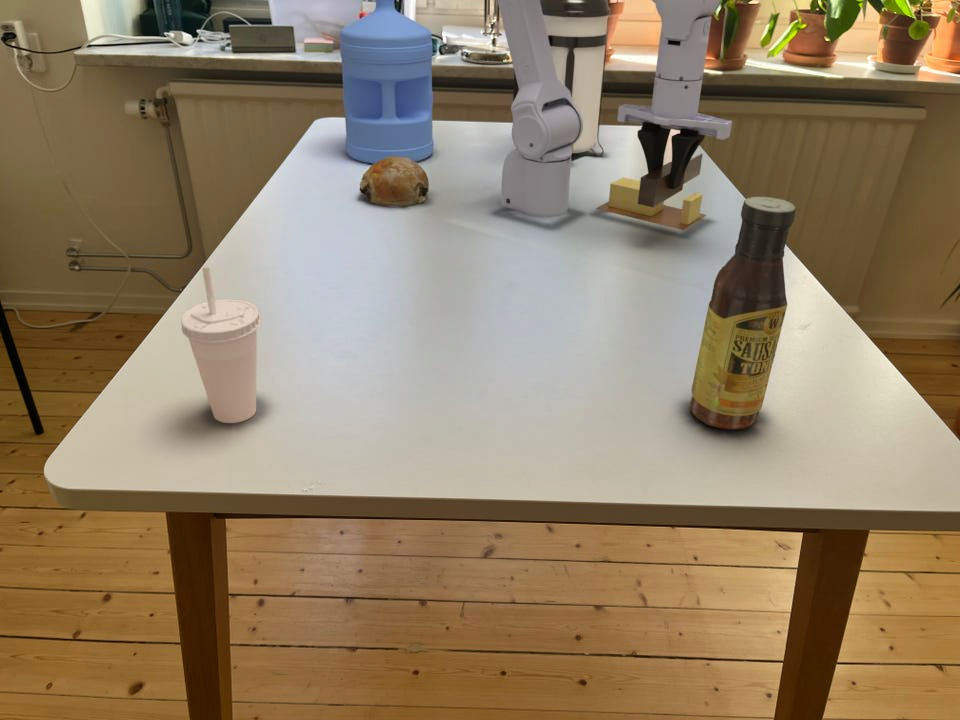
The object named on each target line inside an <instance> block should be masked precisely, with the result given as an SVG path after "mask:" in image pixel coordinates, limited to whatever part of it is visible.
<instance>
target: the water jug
mask: <svg viewBox="0 0 960 720" xmlns="http://www.w3.org/2000/svg"><path fill="white" fill-rule="evenodd" d="M432 37H433V36H432V31H431V30H430V28H428V27H426V26H424V25H422V24H420V23H419V22H417V21H416V20H414V19H411V18H410V17H408V16H406V15H404V14H402V13H401V12H399V11H397V9H396V7H395V0H375V8H374V10H373V11H372V12H369V13H368V14H366V15H364V16H363V17H361V18H359V19H357V20H355V21H353V22H352V23H350V24H348V25H346V26H344V27H342V28H341V29H340V31H339V38H340V39H339V53H340V58H341V74H342V103H343V108H344V120H345V123H344V124H345V137H346V138H345V150H346V153H347V154H348V156H350V157H351V158H352V159H353V160H356V161H359V162H363V163H367V164H372V165H373V164H374V163H376V162H378V161H380V160H382V159H385V158H388V157H402V158H410V159H411V160H412V161H413V162H416V163H417V162H419V161H423V160H425V159H427V158H429V157H430V156H431V155H432V154H433V152H434V146H435V145H434V144H435V143H434V138H433V107H434V92H433V76H432V75H433V68H432V65H433V61H432V59H433V52H434V51H433V49H434V48H433V41H432V40H433V39H432Z"/></svg>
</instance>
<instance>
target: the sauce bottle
mask: <svg viewBox="0 0 960 720" xmlns="http://www.w3.org/2000/svg"><path fill="white" fill-rule="evenodd" d="M740 211H741V212H740V217H741V225H740V229H739V233H738V239H737V243H736V244H735V247H734V248H735V249H734V254H733V255H732V256H731V257H730V259H729V260H727V262H726V263H725V264H724V266H722V267H721V268H720V270H718V273H717V274H716V277H715V280H714V283H713V288H712V293H711V297H710V300H709V302H708V306H707V313H706V316H705V322H704V326H703V332H702V336H701V342H700V346H699V350H698V355H697V360H696V366H695V370H694V376H693V381H692V385H691V389H690V391H691V395H692V396H691V399H690V401H689V406H690V407H689V408H690V411H691V413H692V415H693V416H694V417H695V418H696V419H698V420H699V421H700V422H702V423H703V424H704V425H707V426H709V427H714V428H718V429H721V430H730V431H731V430H732V431H733V430H734V431H735V430H742V429H743V430H744V429H746V428H749V427H750V426H751V425H753V424H754V423H755V422H756V420H757V418H758V417H759V414H760V411H761V410H762V408H763V405H764V400H765V396H766V393H767V388H768V385H769V380H770V375H771V372H772V368H773V364H774V361H775V357H776V352H777V348H778V344H779V341H780V336H781V332H782V327H783V324H784V320H785V316H786V312H787V309H788V299H787V294H786V281H785V270H784V257H785V248H786V243H787V240H788V235H789V230H790V228H791V227H792V225H793V224H794V221H795V216H796V211H797V209H796V206H795V205H794V204H793V203H792V202H790V201H788V200H784V199H782V198H776V197H775V198H774V197H771V196H770V197H769V196H751V197H747V198H745V199H744V201H743V203H742V207H741V210H740Z"/></svg>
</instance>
